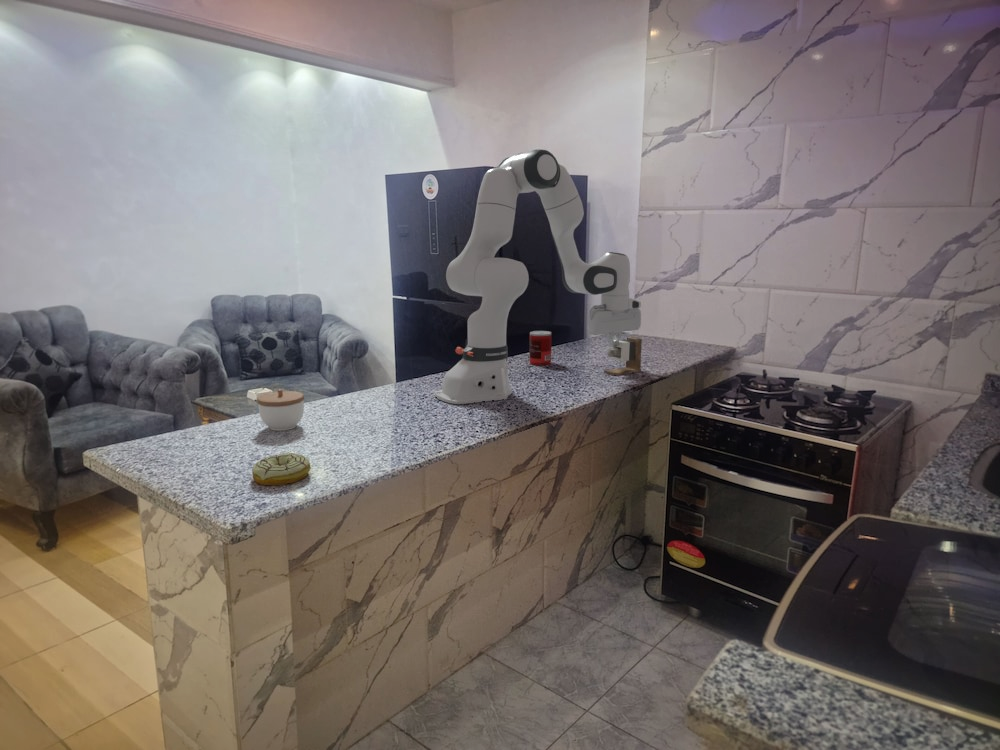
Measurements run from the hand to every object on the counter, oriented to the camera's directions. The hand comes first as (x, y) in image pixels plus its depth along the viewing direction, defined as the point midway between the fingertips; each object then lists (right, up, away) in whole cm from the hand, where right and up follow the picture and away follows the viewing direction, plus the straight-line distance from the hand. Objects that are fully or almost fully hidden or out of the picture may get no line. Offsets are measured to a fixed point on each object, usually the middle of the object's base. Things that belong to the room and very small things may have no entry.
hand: (613, 345), depth 215 cm
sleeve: (+3, -4, +3) cm, 6 cm away
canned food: (-23, -5, +19) cm, 30 cm away
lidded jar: (-90, -22, -54) cm, 107 cm away
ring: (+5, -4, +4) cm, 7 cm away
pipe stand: (+4, -9, +4) cm, 10 cm away
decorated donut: (-80, -30, -86) cm, 121 cm away
